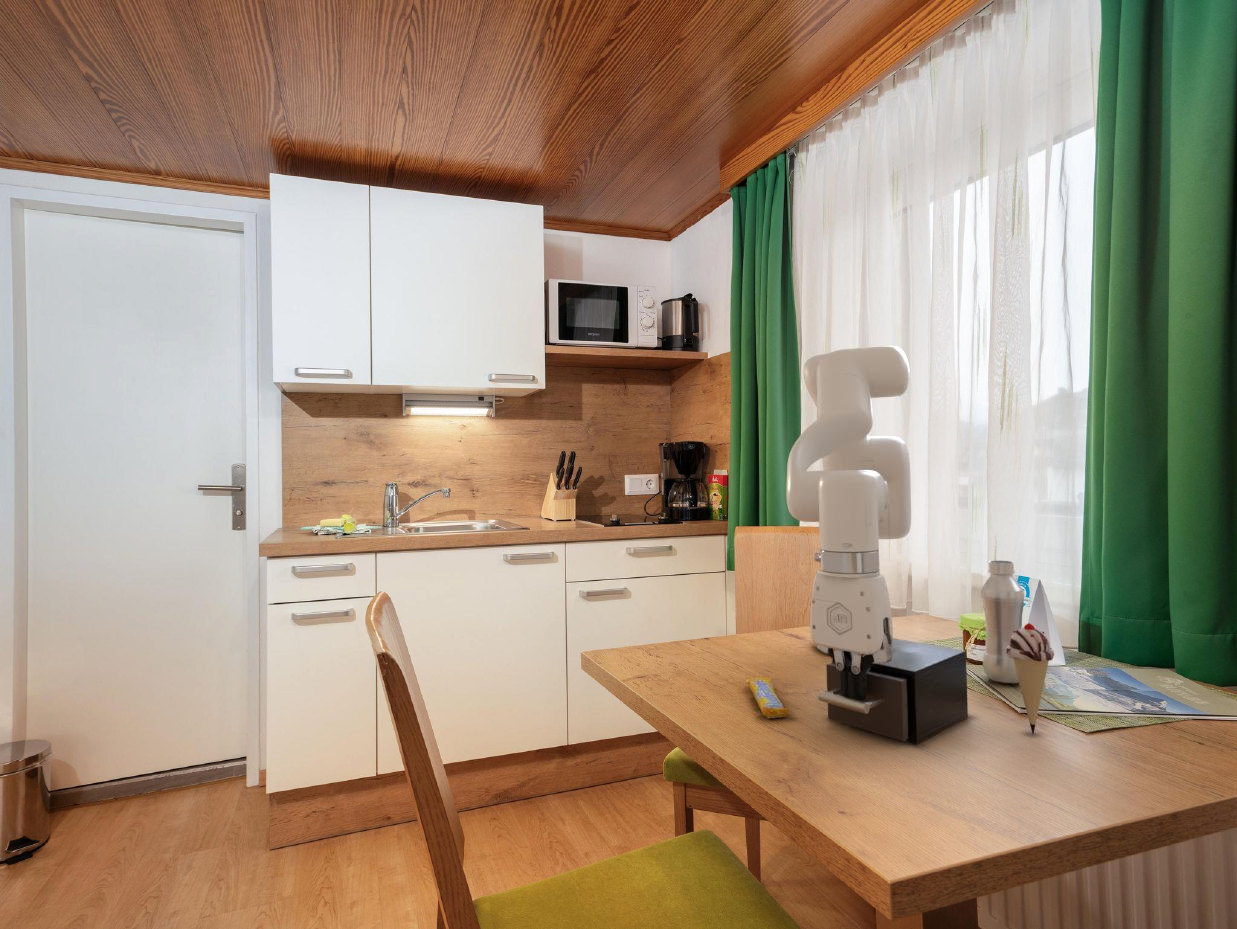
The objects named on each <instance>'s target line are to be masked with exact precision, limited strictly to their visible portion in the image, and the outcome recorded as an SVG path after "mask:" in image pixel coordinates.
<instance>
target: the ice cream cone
mask: <svg viewBox="0 0 1237 929" xmlns="http://www.w3.org/2000/svg"><path fill="white" fill-rule="evenodd" d="M1013 633H1014V634H1013V635H1012V637H1011V640H1010V645H1008V646H1007V647H1006V653H1007V656H1008V657H1009V658H1013V662H1014V666H1015V670H1016V673H1017V677H1018V681H1019V683H1018V684H1019V688H1020V691H1021V696H1022V699H1023V700H1022V701H1023V703H1024V704H1023V705H1024V707H1025V711H1026V714H1027V719H1028V722H1029V726H1030V731H1031V734H1032V735H1034V734H1035V729H1036V725H1037V719H1038V716H1039V710H1040V704H1041V700H1042V695H1043V690H1044V686H1045V681H1046V676H1047V671H1048V667H1049V661H1053V659H1054V657H1055V650H1054V649H1052V647H1051V644H1050V641H1049V639H1048V637H1047V636H1046V634H1045V631H1041V630H1039V629H1037V628H1035V626H1034V625H1033V624H1032V623H1025V625H1024V626H1023V627H1021V628H1020V629H1019V630H1017V631H1013Z"/></svg>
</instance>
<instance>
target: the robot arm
mask: <svg viewBox="0 0 1237 929" xmlns="http://www.w3.org/2000/svg"><path fill="white" fill-rule="evenodd" d="M802 369H803V370H802V372H803V380H804V383H805V386H806V389H807V391H808V393H809V396H810V397H811V399H812V401H813V403H814V405H815V407H816V420H815V421H814V422H812V423H811V424H810V425H808V427H807V428H805V430H804V431H802V433H801V434H800V436H798V438H797V439H796V440H795V442H794V444H793V446H792V447H791V449H790V452H789V455H788V458H787V465H786V466H787V467H786V485H785V487H786V488H785V489H786V490H785V491H786V492H785V497H786V498H785V499H786V505H787V510H788V512H789V514H790V515H791V516H792V517H793V518H794V519H795V520H796V521H799V522H804V523H818V528H819V546H820V547H819V548H820V549H819V552H817V551H816V552H815V553H814V556H813V557H814V561H815V563H820V564H819V565H820V571H816V572H815V575H814V580H813V586H812V591H811V600H810V601H811V602H810V618H809V619H810V622H809V623H810V624H809V626H810V637H811V641H812V642H813V643H814V644H816V648H817V650H819V651H820V652H822V653H823V654H826V655H829V656H830V658H831V660H834V662H835V664H836V668H837V669H838V670H839V671H840V678H841V691H842V696H844V697H848V698H852V699H856V700H860V701H863V700H865V699H866V695H867V671H868V670H870V668H871V667H872V666H873V665H874V664H876V663H886V662H889V661H891V660H892V655H891V651H890V647H891V646H892V642H893V638H894V629H893V628H894V627H893V617H892V616H893V615H892V608H891V601H890V595H889V589H888V586H887V582H886V579H885V575H884V574H881V569H880V550H879V549H880V540H899V539H903V538H905V537H907V535H908V534H909V533H910V530H911V526H912V492H911V491H912V490H911V488H912V486H911V485H912V484H911V458H910V453H909V449H908V446H907V444H906V442H905V441H904V440H903V439H901V437H898V436H891V435H883V436H869V433H870V432H871V430H872V429H873V424H874V416H873V406H872V405H873V404H872V399H878V398H895V397H902V396H903V395H905V394H906V392H907V390H908V387H909V384H910V377H911V376H910V365H909V360H908V358H907V355H906V353H905V352H904V351H903V349H902V348H900V347H899V346H895V345H882V346H881V345H880V346H869V347H856V348H855V347H854V348H845V349H838V350H835V351H830V352H828V353H822V354H818V355H813V356H811V357H809V358H808V359H807V360H806V361H805V363H804V365H803V368H802ZM821 459H822V469H823V470H809V471H808V469H809V468H810V467H811V466H812V465H813V464H815V463H816V462H817V461H819V460H821ZM876 651H877V652H876ZM875 652H876V653H875Z"/></svg>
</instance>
